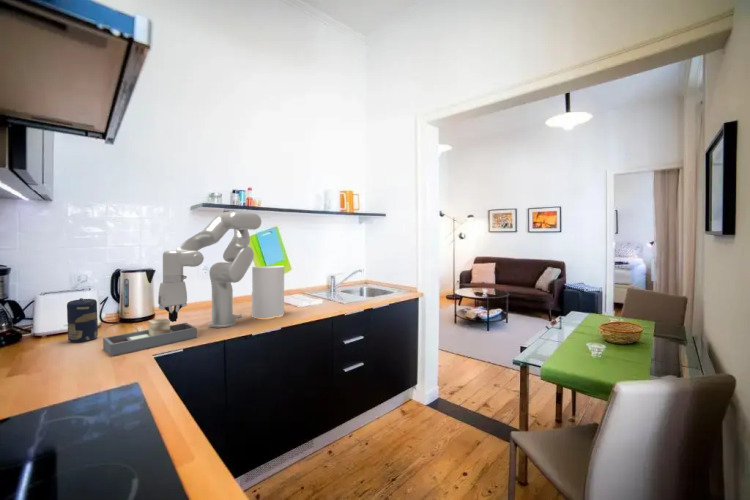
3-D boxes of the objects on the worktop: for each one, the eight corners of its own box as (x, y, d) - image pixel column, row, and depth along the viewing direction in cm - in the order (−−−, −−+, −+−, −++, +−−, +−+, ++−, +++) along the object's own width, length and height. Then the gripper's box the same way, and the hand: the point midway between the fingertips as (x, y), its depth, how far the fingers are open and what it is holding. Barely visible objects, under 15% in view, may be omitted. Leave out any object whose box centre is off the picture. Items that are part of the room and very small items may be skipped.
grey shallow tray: (186, 332, 151) (185, 322, 151) (196, 337, 143) (196, 327, 143) (103, 349, 128) (103, 337, 128) (110, 356, 120) (110, 344, 120)
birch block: (165, 331, 141) (164, 318, 141) (170, 334, 138) (169, 320, 137) (148, 334, 137) (148, 320, 137) (153, 337, 133) (153, 323, 133)
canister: (97, 334, 145) (96, 295, 144) (99, 340, 138) (98, 298, 137) (67, 339, 138) (66, 297, 137) (68, 345, 131) (66, 301, 131)
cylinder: (288, 316, 182) (288, 267, 180) (256, 321, 172) (256, 268, 170) (278, 310, 196) (278, 264, 194) (248, 314, 186) (248, 265, 185)
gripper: (188, 277, 148) (188, 316, 149) (150, 279, 137) (150, 322, 138) (195, 278, 144) (195, 319, 144) (156, 281, 132) (156, 326, 133)
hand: (173, 321), depth 141 cm, fingers closed
